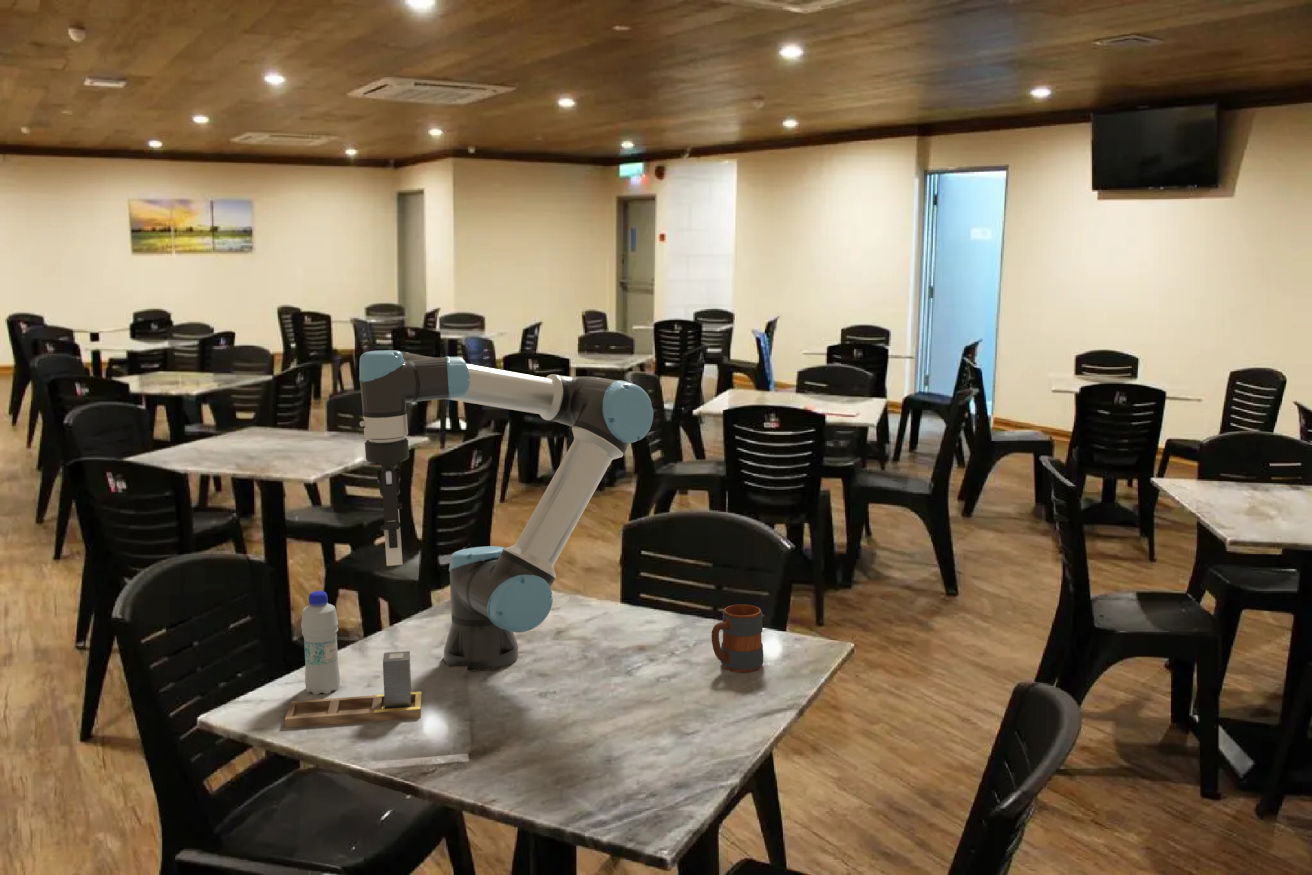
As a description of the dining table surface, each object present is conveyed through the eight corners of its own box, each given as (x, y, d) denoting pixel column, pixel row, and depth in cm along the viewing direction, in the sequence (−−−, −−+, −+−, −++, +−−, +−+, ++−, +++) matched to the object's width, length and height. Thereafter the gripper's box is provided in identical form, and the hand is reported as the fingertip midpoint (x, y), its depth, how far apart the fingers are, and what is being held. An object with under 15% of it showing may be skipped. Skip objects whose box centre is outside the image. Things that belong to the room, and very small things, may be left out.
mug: (698, 667, 222) (698, 611, 220) (744, 655, 229) (744, 600, 227) (726, 680, 215) (726, 623, 213) (772, 667, 222) (773, 611, 220)
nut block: (411, 703, 202) (409, 650, 200) (411, 713, 197) (408, 659, 196) (386, 705, 201) (384, 652, 199) (385, 715, 196) (382, 661, 195)
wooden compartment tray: (421, 704, 204) (421, 691, 203) (420, 722, 196) (420, 708, 196) (291, 714, 200) (291, 700, 199) (285, 732, 192) (284, 718, 191)
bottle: (331, 701, 205) (325, 597, 202) (298, 698, 207) (292, 595, 203) (348, 687, 212) (343, 587, 209) (315, 685, 213) (310, 585, 210)
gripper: (365, 428, 207) (373, 538, 210) (363, 452, 183) (372, 575, 187) (406, 426, 208) (413, 535, 212) (409, 449, 185) (417, 571, 188)
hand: (394, 554), depth 199 cm, fingers open, 13 cm apart
